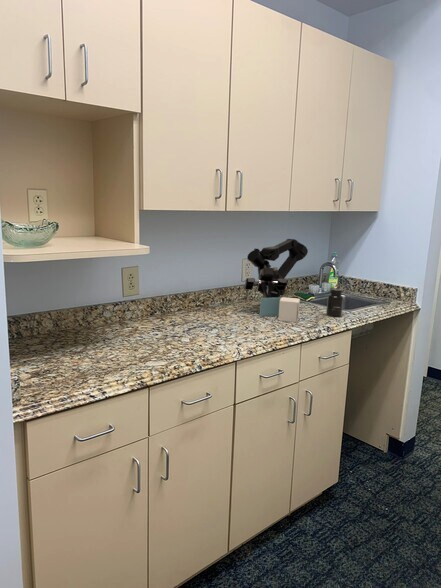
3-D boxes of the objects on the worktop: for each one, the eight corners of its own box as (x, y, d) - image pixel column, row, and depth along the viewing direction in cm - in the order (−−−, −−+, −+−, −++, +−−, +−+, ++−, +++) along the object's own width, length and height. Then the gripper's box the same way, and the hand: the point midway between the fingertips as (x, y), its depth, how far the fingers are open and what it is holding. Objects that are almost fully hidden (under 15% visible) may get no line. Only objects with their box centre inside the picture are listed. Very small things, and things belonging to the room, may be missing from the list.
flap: (278, 314, 203) (279, 297, 202) (280, 315, 202) (281, 297, 200) (259, 315, 200) (260, 297, 199) (260, 316, 199) (261, 298, 197)
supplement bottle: (335, 317, 203) (337, 291, 201) (323, 314, 208) (325, 289, 206) (344, 316, 207) (347, 290, 205) (332, 313, 212) (334, 287, 210)
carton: (280, 316, 202) (281, 297, 200) (298, 317, 200) (299, 298, 198) (278, 320, 193) (279, 300, 192) (297, 322, 191) (298, 302, 190)
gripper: (246, 260, 202) (249, 288, 193) (287, 261, 204) (292, 289, 195) (243, 275, 211) (245, 303, 202) (282, 276, 213) (286, 303, 204)
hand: (267, 299), depth 201 cm, fingers closed
